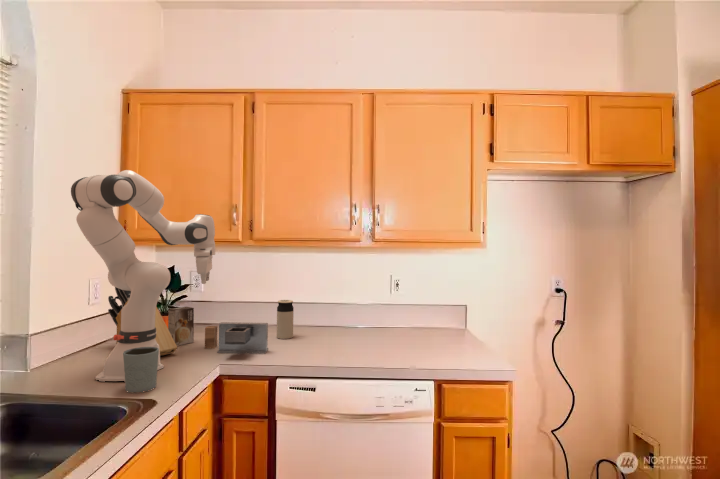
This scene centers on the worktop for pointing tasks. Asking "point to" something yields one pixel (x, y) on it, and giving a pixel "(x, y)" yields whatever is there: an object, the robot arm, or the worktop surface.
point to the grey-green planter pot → (140, 368)
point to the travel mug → (285, 319)
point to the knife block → (162, 333)
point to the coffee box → (181, 325)
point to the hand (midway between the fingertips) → (205, 282)
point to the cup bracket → (243, 337)
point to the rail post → (211, 337)
